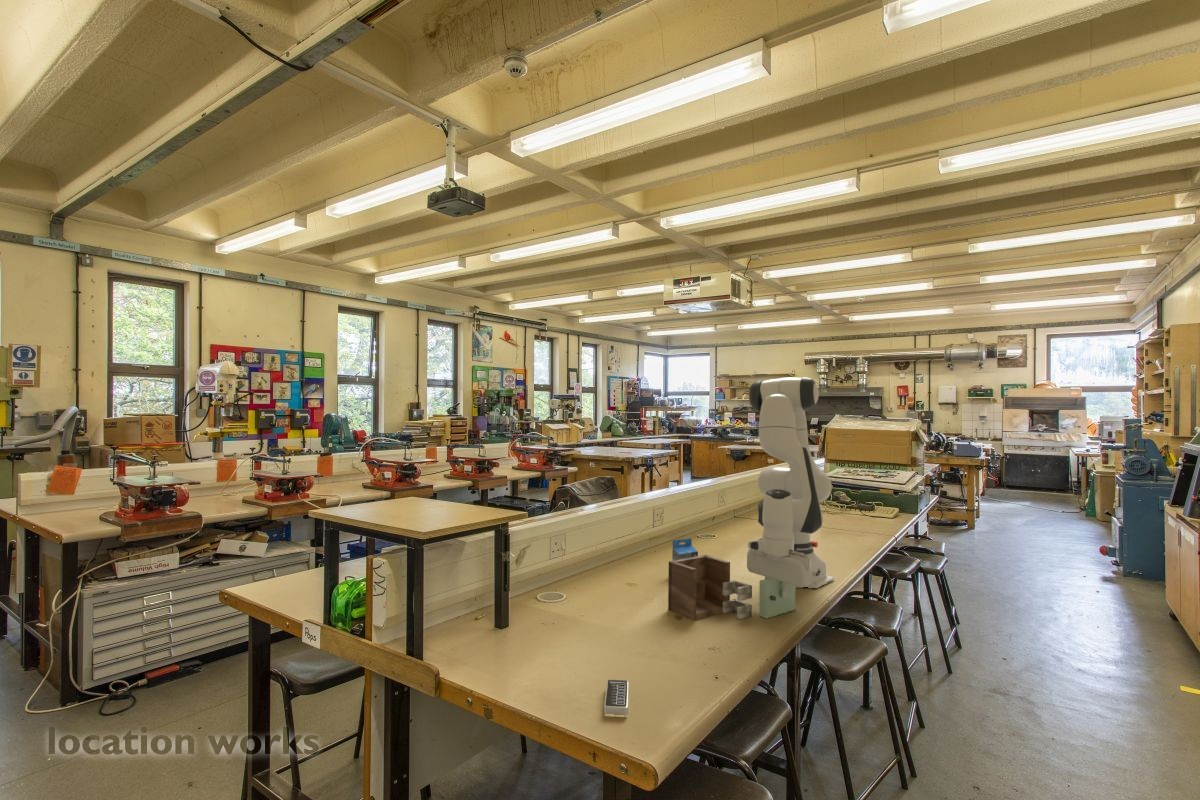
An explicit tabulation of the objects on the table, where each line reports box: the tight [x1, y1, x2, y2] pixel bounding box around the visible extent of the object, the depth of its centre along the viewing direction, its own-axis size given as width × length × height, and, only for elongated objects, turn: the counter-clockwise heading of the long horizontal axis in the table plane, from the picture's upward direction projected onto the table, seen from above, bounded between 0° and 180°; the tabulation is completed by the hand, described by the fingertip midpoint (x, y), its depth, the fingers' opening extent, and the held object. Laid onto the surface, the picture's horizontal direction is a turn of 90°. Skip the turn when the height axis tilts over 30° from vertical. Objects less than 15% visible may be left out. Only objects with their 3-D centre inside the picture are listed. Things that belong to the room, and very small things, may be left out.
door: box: [758, 578, 797, 619], centre depth 164 cm, size 13×4×10 cm, turn 125°
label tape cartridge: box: [671, 537, 699, 561], centre depth 202 cm, size 9×4×12 cm, turn 120°
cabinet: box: [667, 554, 753, 621], centre depth 164 cm, size 17×16×14 cm
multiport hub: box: [603, 679, 629, 716], centre depth 112 cm, size 4×11×2 cm, turn 176°
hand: (777, 594), depth 164 cm, fingers closed on door, 2 cm apart
